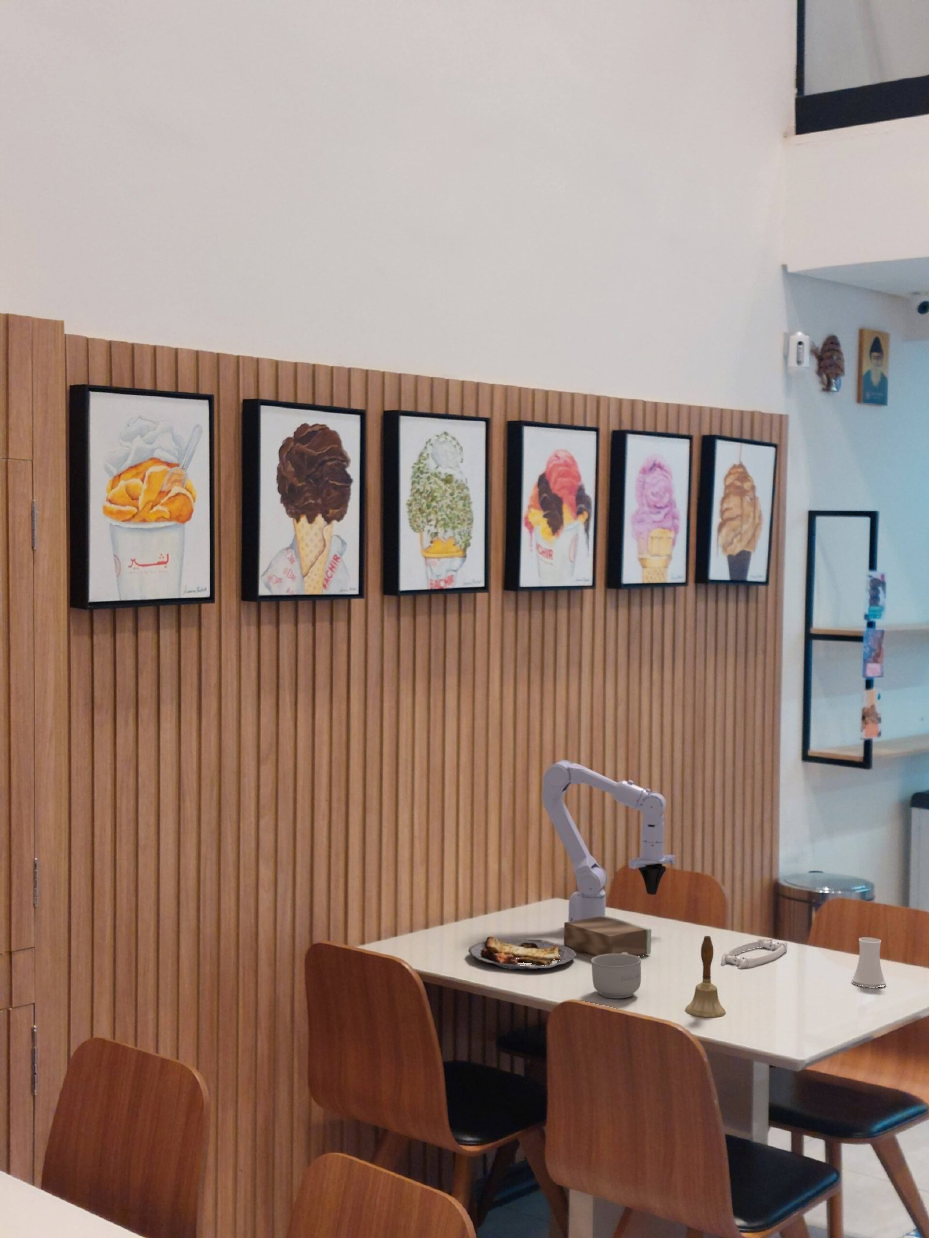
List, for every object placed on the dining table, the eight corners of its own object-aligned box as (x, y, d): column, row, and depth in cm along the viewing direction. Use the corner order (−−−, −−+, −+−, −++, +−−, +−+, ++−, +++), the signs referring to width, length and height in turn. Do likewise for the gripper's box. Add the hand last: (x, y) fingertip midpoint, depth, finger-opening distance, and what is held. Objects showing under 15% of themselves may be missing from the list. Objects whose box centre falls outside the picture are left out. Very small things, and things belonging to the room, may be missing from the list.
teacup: (627, 1005, 303) (628, 967, 303) (581, 996, 309) (582, 959, 309) (654, 990, 315) (655, 953, 315) (610, 981, 321) (611, 946, 321)
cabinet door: (599, 939, 357) (600, 915, 357) (606, 938, 358) (607, 914, 358) (647, 954, 343) (647, 929, 343) (654, 953, 345) (654, 928, 345)
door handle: (797, 952, 352) (750, 972, 332) (760, 945, 358) (712, 964, 338) (797, 941, 352) (750, 961, 332) (760, 934, 358) (712, 953, 338)
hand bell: (730, 1017, 296) (732, 941, 296) (690, 1017, 295) (692, 940, 295) (720, 1005, 304) (722, 931, 304) (681, 1005, 304) (683, 931, 303)
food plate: (456, 966, 331) (457, 950, 331) (484, 943, 353) (485, 929, 353) (561, 980, 323) (562, 964, 323) (583, 956, 346) (584, 941, 346)
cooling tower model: (876, 978, 328) (877, 935, 328) (892, 988, 321) (893, 943, 320) (845, 979, 327) (847, 936, 326) (860, 988, 319) (861, 944, 319)
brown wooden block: (563, 948, 349) (564, 922, 349) (600, 941, 356) (600, 916, 356) (608, 963, 336) (609, 936, 336) (645, 955, 344) (646, 929, 343)
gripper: (642, 845, 357) (641, 900, 357) (684, 840, 365) (683, 893, 366) (623, 841, 362) (622, 894, 363) (664, 836, 371) (663, 888, 371)
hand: (651, 893), depth 364 cm, fingers closed
